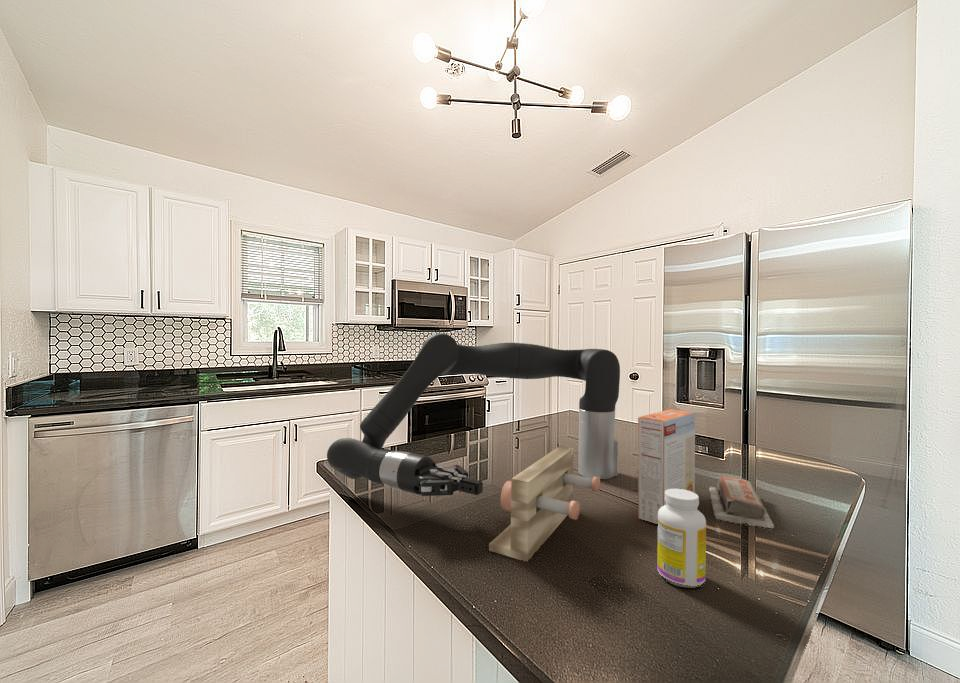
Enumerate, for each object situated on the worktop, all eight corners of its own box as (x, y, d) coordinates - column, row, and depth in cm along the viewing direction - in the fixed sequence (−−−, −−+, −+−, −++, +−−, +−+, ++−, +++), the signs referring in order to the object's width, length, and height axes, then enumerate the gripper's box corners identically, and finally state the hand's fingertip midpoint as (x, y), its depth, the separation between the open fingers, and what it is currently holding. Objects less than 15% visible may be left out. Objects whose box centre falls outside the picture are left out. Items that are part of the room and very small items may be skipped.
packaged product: (708, 472, 100) (758, 478, 96) (708, 492, 100) (757, 499, 96) (715, 498, 84) (775, 507, 80) (715, 522, 84) (774, 532, 80)
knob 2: (531, 488, 85) (532, 464, 85) (540, 481, 89) (541, 458, 89) (595, 501, 78) (595, 475, 78) (601, 493, 83) (602, 468, 83)
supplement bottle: (694, 567, 66) (696, 486, 66) (713, 592, 60) (715, 503, 60) (651, 564, 67) (652, 485, 67) (665, 589, 61) (666, 501, 60)
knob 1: (500, 514, 72) (500, 485, 72) (512, 504, 77) (512, 477, 77) (572, 532, 66) (572, 500, 66) (581, 520, 70) (581, 490, 70)
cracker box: (667, 501, 93) (669, 407, 93) (695, 510, 88) (697, 411, 88) (635, 518, 84) (636, 415, 84) (664, 529, 79) (666, 420, 79)
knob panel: (489, 550, 71) (490, 474, 71) (541, 502, 92) (542, 443, 91) (527, 562, 67) (528, 481, 67) (572, 509, 88) (573, 448, 88)
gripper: (385, 461, 80) (462, 478, 71) (427, 446, 91) (497, 459, 83) (384, 500, 80) (461, 522, 71) (426, 480, 91) (497, 497, 83)
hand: (480, 488), depth 77 cm, fingers closed
